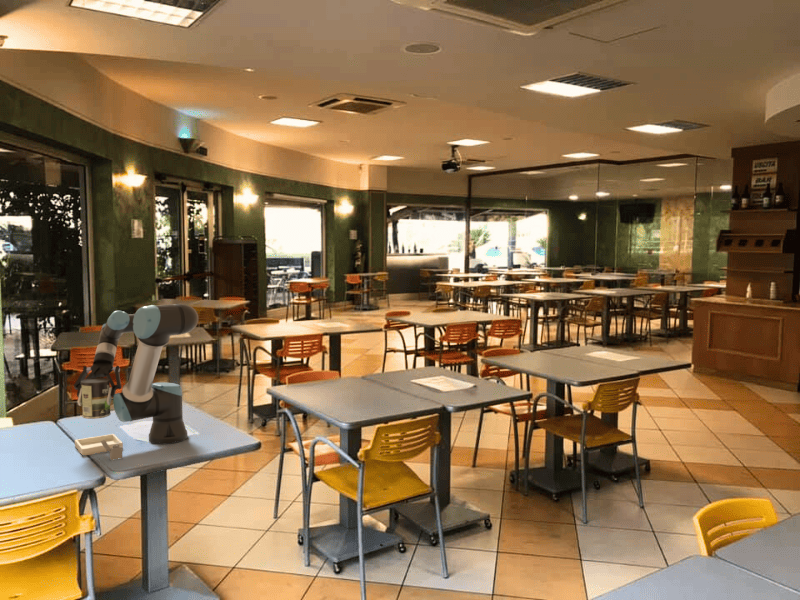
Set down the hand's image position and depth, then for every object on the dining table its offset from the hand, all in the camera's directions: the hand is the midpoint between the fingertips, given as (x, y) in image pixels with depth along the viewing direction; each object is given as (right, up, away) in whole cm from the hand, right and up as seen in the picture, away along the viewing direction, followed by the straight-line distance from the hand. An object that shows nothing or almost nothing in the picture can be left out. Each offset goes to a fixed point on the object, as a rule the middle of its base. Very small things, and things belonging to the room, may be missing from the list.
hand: (93, 403), depth 260 cm
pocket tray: (0, -18, +5) cm, 19 cm away
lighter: (+11, -20, -10) cm, 25 cm away
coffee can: (0, -5, +4) cm, 6 cm away
